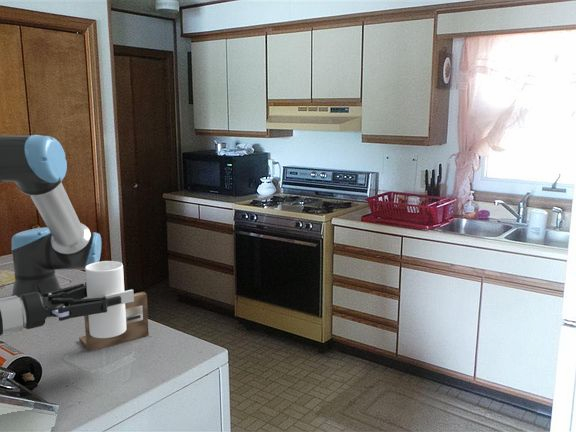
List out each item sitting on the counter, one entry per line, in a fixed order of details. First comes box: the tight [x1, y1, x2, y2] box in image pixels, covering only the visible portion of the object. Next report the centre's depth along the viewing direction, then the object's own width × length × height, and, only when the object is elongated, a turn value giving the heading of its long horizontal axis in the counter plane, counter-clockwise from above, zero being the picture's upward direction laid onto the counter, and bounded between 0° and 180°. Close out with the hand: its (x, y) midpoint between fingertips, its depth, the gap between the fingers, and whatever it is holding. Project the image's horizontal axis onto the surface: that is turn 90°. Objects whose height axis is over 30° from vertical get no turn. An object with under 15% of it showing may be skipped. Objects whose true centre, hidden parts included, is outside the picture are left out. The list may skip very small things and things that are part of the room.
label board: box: [78, 291, 150, 352], centre depth 138 cm, size 16×8×12 cm, turn 128°
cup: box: [84, 260, 126, 338], centre depth 121 cm, size 8×8×16 cm
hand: (125, 290), depth 123 cm, fingers closed on cup, 8 cm apart
